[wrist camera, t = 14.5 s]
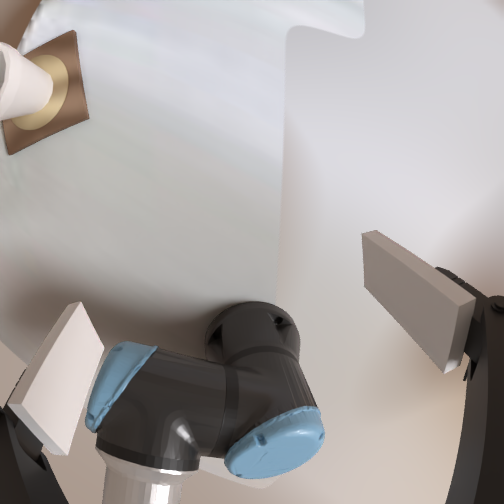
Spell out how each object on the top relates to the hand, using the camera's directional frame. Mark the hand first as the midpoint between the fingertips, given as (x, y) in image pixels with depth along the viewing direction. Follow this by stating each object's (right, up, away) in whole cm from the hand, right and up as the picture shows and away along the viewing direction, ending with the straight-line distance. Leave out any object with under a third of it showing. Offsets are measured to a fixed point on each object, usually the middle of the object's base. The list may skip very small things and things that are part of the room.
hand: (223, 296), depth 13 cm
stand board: (-28, +24, +18) cm, 41 cm away
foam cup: (-28, +24, +16) cm, 40 cm away
